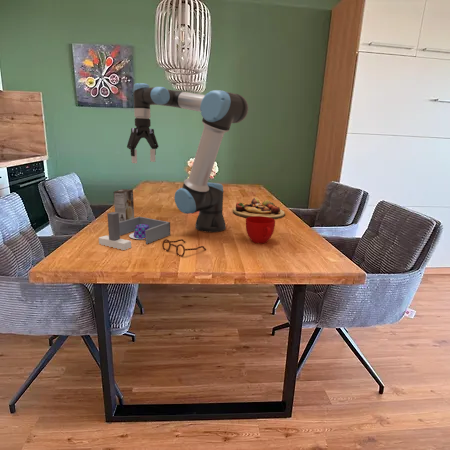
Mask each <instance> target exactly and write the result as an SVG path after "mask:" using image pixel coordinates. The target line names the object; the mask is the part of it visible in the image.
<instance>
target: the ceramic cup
mask: <svg viewBox="0 0 450 450" xmlns="http://www.w3.org/2000/svg"><path fill="white" fill-rule="evenodd" d="M275 225H276V219H273V218H269V217H264V216H252V217H248V218H245V230H246V234H247V236H248V238H249V239H250V240H251V242H253V244H254V243H256V244H265V243H267V242H268V241H269V240H270V239H271V237H272V236H273V234H274V231H275Z"/></svg>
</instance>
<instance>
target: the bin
mask: <svg viewBox="0 0 450 450" xmlns="http://www.w3.org/2000/svg"><path fill="white" fill-rule="evenodd" d="M139 224H147V225H149V227H150V229H147V230H145V234H146V239H145V244H146V245H148V243H149V244H152V243H154V242H156V241H159V240H161V239H164V238H166V237H169V236H171V222H170V221H164V220H159V219H153V218H149V217H144V216H136V217H134V218H132V219H129V220H125V221H122V222H119V229H120V237H121V236H124V235H126V234H131V233H134V231H135V227H136V226H137V225H139ZM158 239H159V240H158ZM153 241H154V242H153Z"/></svg>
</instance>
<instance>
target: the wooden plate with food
mask: <svg viewBox="0 0 450 450" xmlns="http://www.w3.org/2000/svg"><path fill="white" fill-rule="evenodd" d="M232 213H233V214H235V215H237V216H239V217H242V218H245V219H246V218H248V217H252V216H264V217H269V218H273V219H274V220H276V219H277V220H278V219H282V218H283V217H285V216H286V213H285V211H284V210H282V209H281V208H280V207H279V206H277V205H276V204H274V202H271V201H270V200H269V199H266V200H264V201H262V203H260V200H259V198H257V197H253V199H252V200H251V203H248V202H247V203H246V202H244V203H243V202H239V201H238V202H236V204H235V206H234V207H233V208H232Z"/></svg>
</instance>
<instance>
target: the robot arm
mask: <svg viewBox="0 0 450 450" xmlns="http://www.w3.org/2000/svg"><path fill="white" fill-rule="evenodd" d="M132 93H133V108H134V110H133V112H134V114H133V115H134V126H135V127H131V129H130V136H129V138H128V140H127V141H128V142H127V146H126V148H127V149H129V150H130V156H131V163H132V164H138V153H137V152H138V151H137V149H136V148H137V146H138V144H139V143H140V141H141V139H145V140H146V142H147V143H148V145H149V146H150V149H149V152H150V153H149V155H150V157H149V158H150V162H152V163H153V162H154V163H155V162H156V154H157V152H156V151H157V149H158V148H159V144H158V140H157V137H156V135H155V130H154V128H150V127H151V126H152V125H151V123H152V122H151V119H150V118H151V106H152V105H153V106H155V105H156V106H163V107H173V108H178V109H185V110H188V111H196V112H199V113H200V115H201V117H202V120H201V122H202V125H203V129H202V133H201V136H200V138H199V143H198V146H197V150H196V152H195V155H194V160H193V162H192V166H191V170H190V174H189V175H188V178H186V179H184V180H183V184H182V187H179V188H178V189H176V191H175V192H174V202H175V204H176V208H177V209H178V210H179V212H181V213H183V214H194V213H197V212H198V216H197V217H196V221H195V227H194V228H195V230H197V231H200V232H204V233H205V232H206V233H218V232H222V231H225V230H226V220H225V218H224V214H223V213H224V212H223V210H224V208H223V206H224V186H223V184H222V183H220V182H219V183H218V182H211V181H209V180H210V176H211V174H212V171H213V168H214V165H215V162H216V158H217V156H218V153H219V149H220V147H221V144H222V141H223V138H224V135H225V133H228V132H230V129H231V126H232V124H238V123H241V122H242V121H244V120H245V119H246V117H247V115H248V113H249V103H248V101H247V99H246V98H245V97H244V96H243V95H241V94H239V93H233V92H229V91H226V90H225V91H224V90H223V89H221V90H219V89H214V90H210V91H209V92H207V93H205V94H202V93H200V94H199V93H194V92H186V91H180V90H173V89H172V90H171V89H168V88H166V87H165V86H153V87H150V85H149V84H148V83H143V82H139V83H138V82H137V83H134V84H133V92H132Z"/></svg>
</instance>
